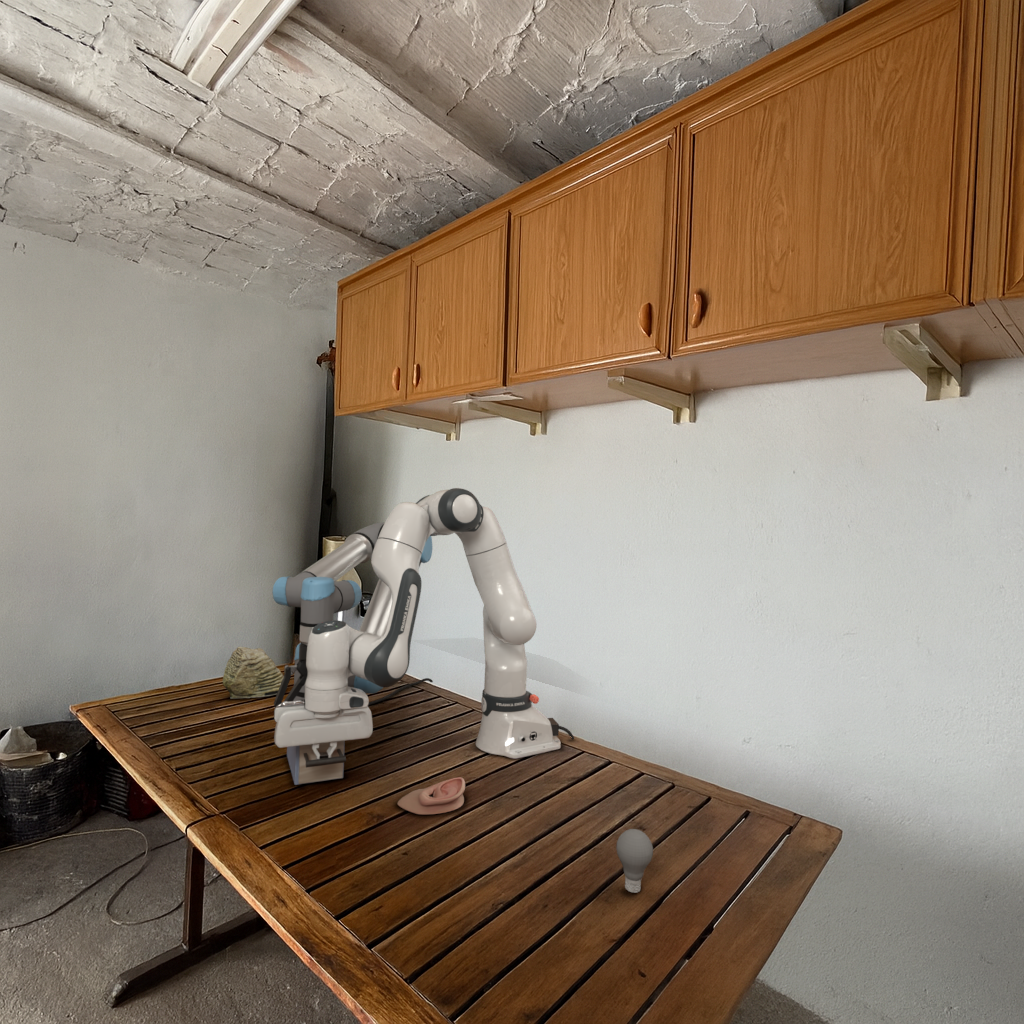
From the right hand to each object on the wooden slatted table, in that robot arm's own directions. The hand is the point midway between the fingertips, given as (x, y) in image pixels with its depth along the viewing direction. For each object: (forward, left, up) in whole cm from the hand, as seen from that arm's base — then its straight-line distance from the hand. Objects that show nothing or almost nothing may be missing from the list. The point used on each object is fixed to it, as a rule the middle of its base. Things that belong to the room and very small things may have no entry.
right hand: (323, 761), depth 136 cm
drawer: (0, -8, -5) cm, 9 cm away
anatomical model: (-21, +12, -6) cm, 25 cm away
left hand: (+1, -18, 0) cm, 18 cm away
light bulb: (-45, +51, -6) cm, 69 cm away
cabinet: (+1, -13, -6) cm, 15 cm away
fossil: (+14, -72, -6) cm, 74 cm away
